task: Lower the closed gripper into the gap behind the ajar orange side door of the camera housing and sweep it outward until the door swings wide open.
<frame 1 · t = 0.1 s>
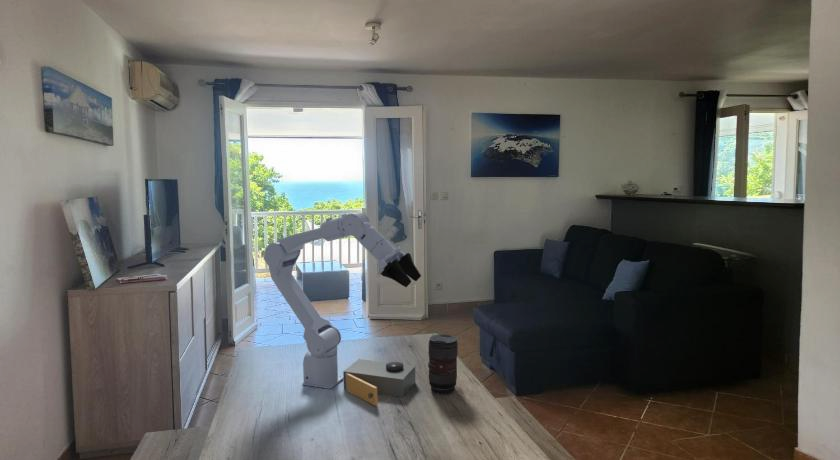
hand: (413, 281, 139), 32 cm above the table, tool tilted 50°, fingers open, 7 cm apart
side door: (360, 389, 141), point 2 cm above the table, hinge at 28.0°
camera lens: (443, 390, 146), on the table
camera housing: (380, 385, 150), on the table
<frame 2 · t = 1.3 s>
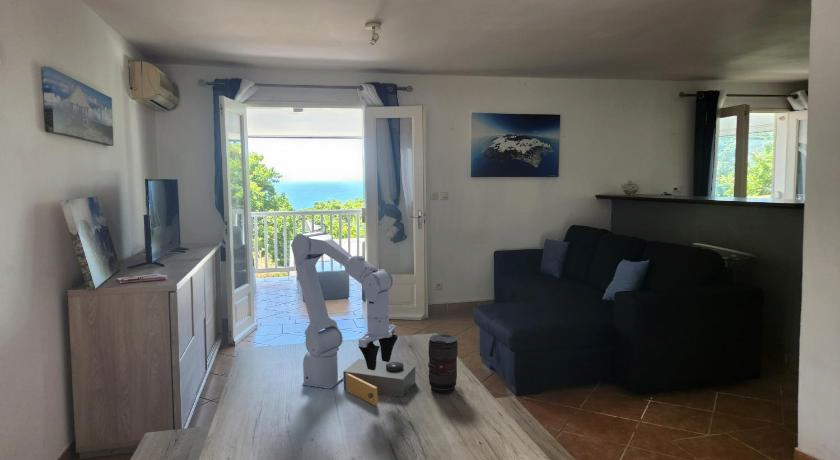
hand: (378, 365, 140), 9 cm above the table, tool pointing down, fingers open, 6 cm apart
nothing on the table moved.
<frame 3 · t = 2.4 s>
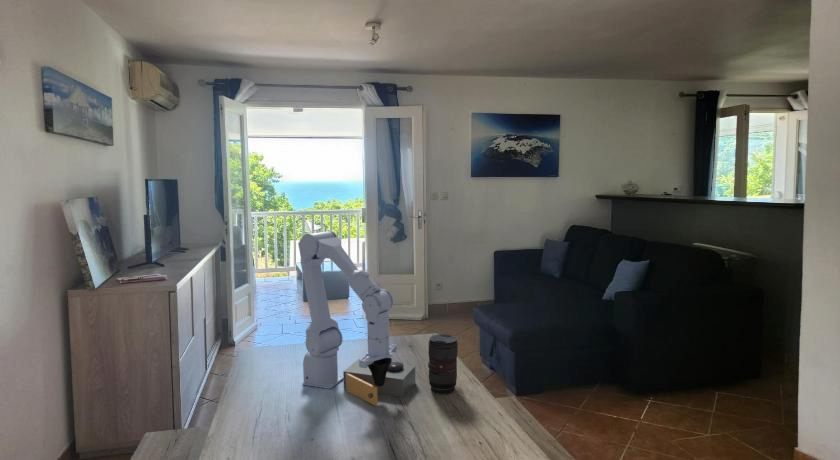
hand: (379, 385, 140), 4 cm above the table, tool pointing down, fingers closed
nothing on the table moved.
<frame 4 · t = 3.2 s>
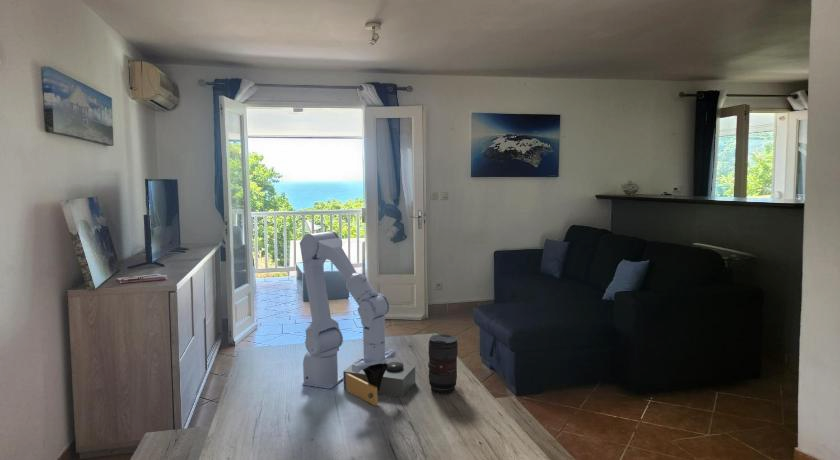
hand: (375, 390, 140), 3 cm above the table, tool pointing down, fingers closed
side door: (360, 389, 141), point 2 cm above the table, hinge at 28.0°, touching gripper
everything else where it was.
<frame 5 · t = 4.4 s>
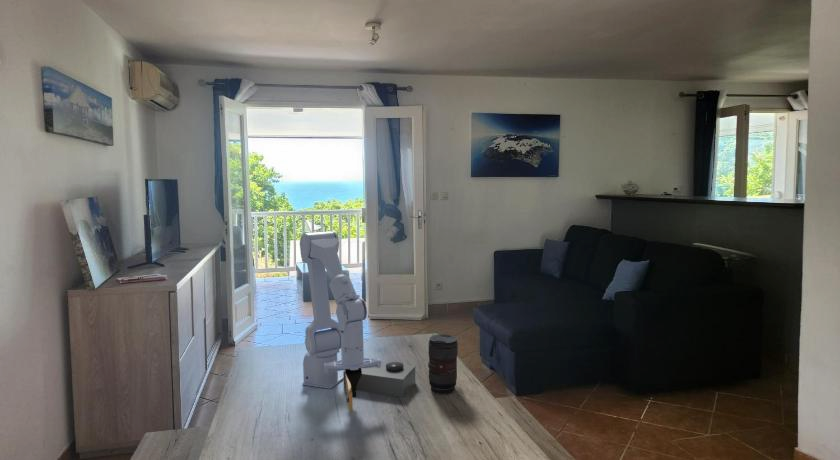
hand: (353, 395, 136), 3 cm above the table, tool pointing down, fingers closed, pressing on side door
side door: (347, 391, 140), point 2 cm above the table, hinge at 58.8°, touching gripper
everything else where it was.
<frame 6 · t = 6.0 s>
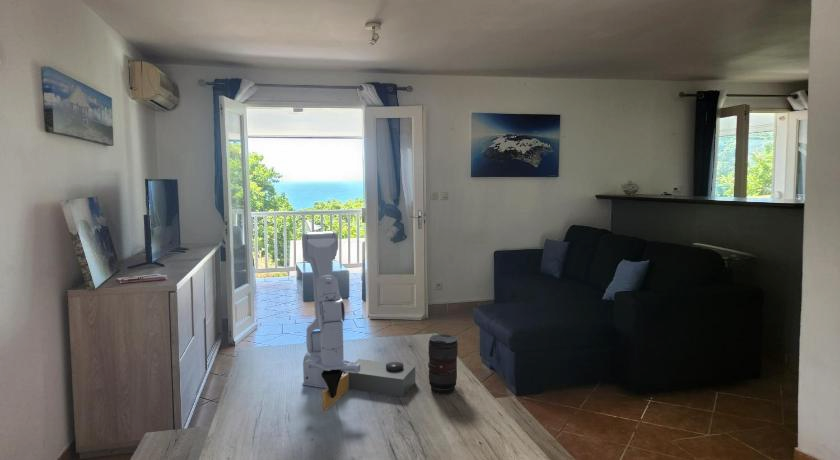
hand: (333, 396, 136), 3 cm above the table, tool pointing down, fingers closed
side door: (335, 390, 140), point 2 cm above the table, hinge at 90.1°, touching gripper
everything else where it was.
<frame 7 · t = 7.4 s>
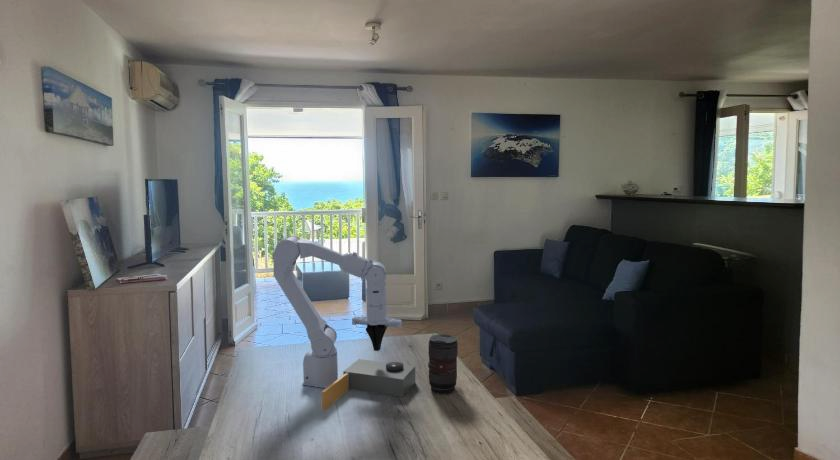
hand: (377, 349, 152), 9 cm above the table, tool pointing down, fingers closed
side door: (335, 390, 140), point 3 cm above the table, hinge at 91.2°
everything else where it was.
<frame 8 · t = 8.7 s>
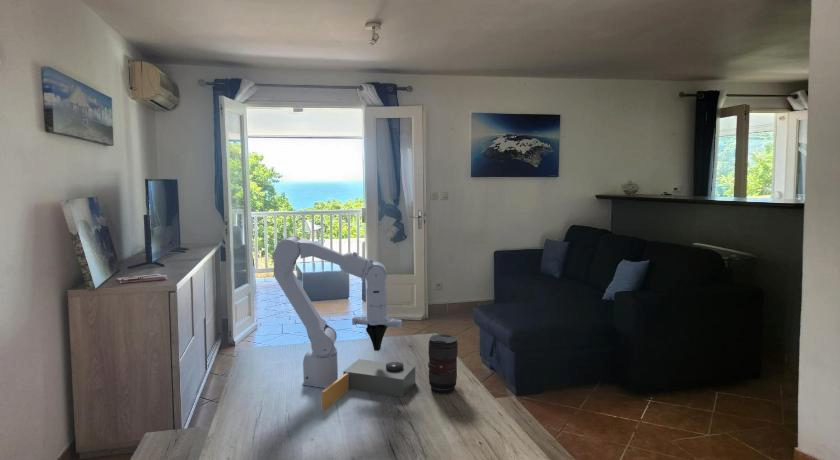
hand: (377, 349, 152), 9 cm above the table, tool pointing down, fingers closed
nothing on the table moved.
at the end: side door at +91° (first picture: +28°); camera lens moved 0.2 cm from its start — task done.
